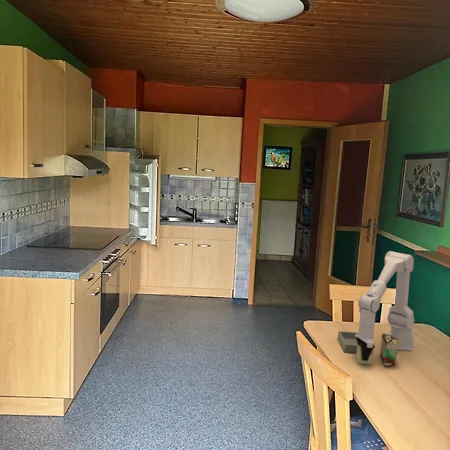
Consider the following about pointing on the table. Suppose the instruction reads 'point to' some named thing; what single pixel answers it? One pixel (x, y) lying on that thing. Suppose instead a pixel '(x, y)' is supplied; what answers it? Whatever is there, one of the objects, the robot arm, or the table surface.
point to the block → (359, 356)
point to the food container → (389, 350)
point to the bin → (348, 341)
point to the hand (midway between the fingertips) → (363, 357)
